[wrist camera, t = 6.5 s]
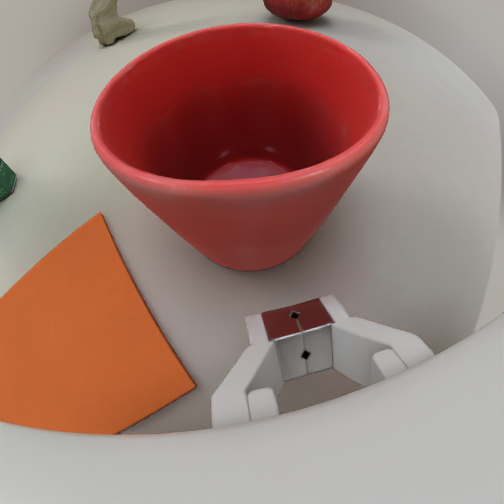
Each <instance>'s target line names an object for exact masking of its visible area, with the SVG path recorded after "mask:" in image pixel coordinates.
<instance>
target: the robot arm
mask: <svg viewBox="0 0 504 504" xmlns="http://www.w3.org/2000/svg"><path fill="white" fill-rule="evenodd" d="M245 319H246V324H247V329H248V334H249V339H250V344H251V346H250V347H246V349H245V350H244V352H243V353H242V354H241V356H240V357H239V359H238V360H237V362H236V363H235V365H234V366H233V367H232V369H231V370H230V372H229V373H228V374H227V376H226V377H225V379H224V380H223V381H222V383H221V384H220V386H219V387H218V388H217V390H216V391H215V392H214V394H213V395H212V397H211V414H212V428H209V429H201V430H193V431H183V432H172V433H157V434H131V435H112V434H86V433H72V432H62V431H53V430H45V429H39V428H32V427H26V426H21V425H16V424H11V423H7V422H2V421H0V504H504V312H503V313H502V314H501V315H499V316H498V317H497V318H495V319H494V320H492V321H491V322H489V323H488V324H486V325H485V326H484V327H482V328H481V329H479V330H477V331H476V332H474V333H473V334H471V335H469V336H468V337H466V338H465V339H463V340H461V341H460V342H458V343H456V344H454V345H453V346H451V347H449V348H447V349H446V350H444V351H442V352H440V353H438V354H437V355H435V353H434V352H433V351H432V350H431V349H430V348H429V347H428V346H427V345H426V344H425V343H424V342H423V341H422V340H421V339H420V338H419V336H418V335H416V334H413V333H409V332H406V331H402V330H399V329H396V328H392V327H389V326H385V325H382V324H379V323H375V322H372V321H369V320H365V319H362V318H359V317H353V318H351V316H350V315H349V314H348V313H347V311H346V310H345V309H344V307H343V306H342V305H341V304H340V302H339V301H338V300H337V299H336V297H335V296H334V295H333V294H328V295H325V296H322V297H319V298H317V299H313V300H310V301H307V302H303V303H300V304H296V305H293V306H288V307H283V308H279V309H275V310H271V311H266V312H262V313H261V314H260V313H257V314H253V315H249V316H246V317H245ZM330 368H333V369H335V370H336V371H338V372H340V373H342V374H343V375H345V376H347V377H348V378H350V379H352V380H354V381H355V382H357V383H359V384H360V385H362V386H364V387H365V388H363V389H360V390H357V391H355V392H352V393H349V394H346V395H344V396H341V397H338V398H335V399H332V400H329V401H326V402H323V403H319V404H316V405H313V406H310V407H306V408H303V409H299V410H296V411H292V412H288V413H284V414H280V413H279V409H278V405H277V402H276V401H277V399H278V396H279V394H280V391H281V389H282V386H283V382H286V381H289V380H292V379H296V378H299V377H302V376H305V375H309V374H312V373H316V372H320V371H323V370H326V369H330Z"/></svg>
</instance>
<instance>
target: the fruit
mask: <svg viewBox="0 0 504 504" xmlns="http://www.w3.org/2000/svg"><path fill="white" fill-rule="evenodd" d="M263 2H264V5H265V7H266V8H267V9H268V10H269V11H270V12H271V13H272V14H274V15H276V16H278V17H281V18H286V19H295V20H310V19H314V18H317V17H319V16H321V15H323V14H324V13H325V12H327V11H328V10H329V8H330V7H331V5H332V0H263Z"/></svg>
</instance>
